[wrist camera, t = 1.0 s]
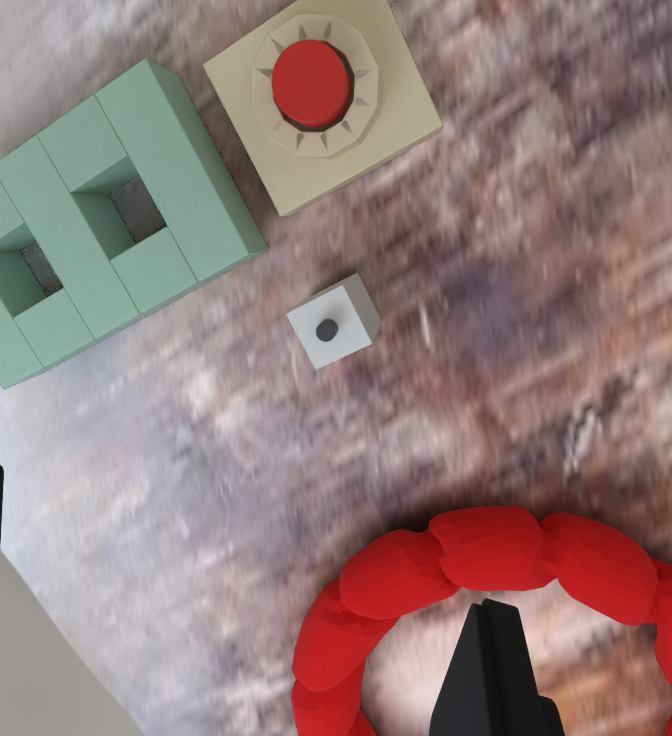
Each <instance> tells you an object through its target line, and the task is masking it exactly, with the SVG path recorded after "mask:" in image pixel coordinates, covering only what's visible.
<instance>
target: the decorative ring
mask: <svg viewBox="0 0 672 736" xmlns="http://www.w3.org/2000/svg"><path fill="white" fill-rule="evenodd" d="M555 578H558V580H559V583H560V585H561V586H562V587H563V588H564V590H565V591H566V592H567V593H568V594H569V595H570V596H571V597H572V598H574V599H576V600H577V601H579V602H581V603H583V604H585V605H587V606H589V607H591V608H593V609H594V610H596V611H598V612H600V613H602V614H604V615H606V616H608V617H610V618H612V619H614V620H616V621H618V622H620V623H623V624H626V625H632V626H638V625H640V624H642V623H657V629H658V634H657V636H656V638H655V649H654V651H655V655H656V660H657V661H658V663H659V665H660V667H661V669H662V671H663V673H664V675H665V677H666V679H667V681H668V682H669V683H670V684H671V686H672V565H671V564H669V563H666V562H664V561H661V560H659V559H656V558H649V556H648V554H647V552H646V551H645V550H644V549H643V548H642V547H641V546H640V545H639V544H638V543H637V542H636V541H634V540H633V539H631V538H630V537H628V536H627V535H626V534H624V533H622V532H621V531H619V530H617V529H616V528H614V527H611V526H609V525H606V524H604V523H601V522H598V521H596V520H593V519H589V518H585V517H581V516H577V515H574V514H570V513H566V512H560V513H553V514H549V515H548V516H546V517H545V518H544V519H542V520H541V521H540V522H539V524H538V522H537V520H536V518H535V517H534V516H533V515H532V514H531V513H530V512H529V511H528V510H527V509H526V508H523V507H519V506H504V505H498V506H484V507H472V508H464V509H458V510H453V511H447V512H444V513H442V514H439V515H437V516H435V517H434V518H433V519H431V520H430V521H429V527H428V529H427V530H425V531H423V532H420V533H417V532H413V531H410V530H406V529H398V530H395V531H391V532H388V533H387V534H385V535H383V536H381V537H379V538H378V539H376V540H374V541H373V542H371V543H370V544H368V545H367V546H366V547H364V548H363V549H361V550H360V551H359V552H357V553H356V554H355V555H354V556H352V557H351V558H350V559H349V560H348V561H347V563H346V564H345V566H344V567H343V569H342V572H341V575H340V578H337V579H335V580H333V581H331V582H330V583H328V584H327V585H326V586H325V587H324V588H323V589H322V590H321V592H320V593H319V594H318V596H317V598H316V599H315V601H314V603H313V604H312V606H311V608H310V610H309V611H308V613H307V615H306V617H305V619H304V621H303V624H302V627H301V630H300V633H299V637H298V640H297V643H296V646H295V650H294V657H293V665H292V671H293V674H294V677H295V679H296V681H295V683H294V686H293V689H292V695H291V700H292V706H293V712H294V718H295V724H296V728H297V731H298V734H299V736H377V735H376V734H375V732H374V730H373V728H372V727H371V725H370V723H369V721H368V720H367V718H366V717H365V716H364V714H363V713H362V712H361V710H360V709H359V707H360V703H361V687H362V677H363V671H364V666H365V660H366V657H367V656H368V655H369V654H370V652H371V651H372V650H373V649H374V647H375V646H376V645H377V644H378V642H379V641H380V640H381V639H382V637H383V636H384V635H385V634H386V633H387V632H388V631H389V630H390V629H391V628H392V627H393V626H394V625H395V623H396V622H397V621H398V620H399V618H400V617H401V616H402V615H405V614H408V613H410V612H413V611H415V610H418V609H420V608H423V607H425V606H428V605H430V604H433V603H436V602H438V601H441V600H443V599H446V598H449V597H451V596H453V595H454V594H455V593H456V592H457V591H459V589H460V588H461V587H464V588H467V589H470V590H476V591H496V590H512V591H526V590H531V589H536V588H541V587H544V586H546V585H547V584H548V583H550V582H551V581H552V580H553V579H555ZM667 735H668V736H672V716H671V717H670V719H669V720H668V725H667Z"/></svg>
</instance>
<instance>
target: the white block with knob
mask: <svg viewBox="0 0 672 736" xmlns="http://www.w3.org/2000/svg"><path fill="white" fill-rule="evenodd" d="M286 315H287V316H288V318H289V320H290V322H291V324H292V326H293V328H294V330H295V331H296V333H297V335H298V337H299V339H300V341H301V343H302V345H303V347H304V348H305V350H306V352H307V354H308V356H309V358H310V360H311V362H312V364H313V365H314V367H315V369H316V370H317V369H319V368H321V367H323V366H325V365H328V364H330V363H332V362H334V361H336V360H338V359H340V358H342V357H345V356H347V355H349V354H351V353H353V352H355V351H357V350H360V349H362V348H364V347H366V346H368V345H370V344H372V343H373V340H374V338H375V336H376V334H377V332H378V329H379V327H380V325H381V323H382V320H381V318H380V316H379V314H378V312H377V310H376V308H375V306H374V304H373V302H372V300H371V298H370V296H369V294H368V292H367V290H366V288H365V286H364V284H363V282H362V280H361V278H360V276H359V274H358V273H355V274H353V275H351V276H349V277H347V278H345V279H343V280H341V281H339V282H337V283H335V284H333V285H331V286H329V287H327V288H325V289H324V290H322V291H320V292H318V293H316V294H314V295H312V296H310V297H308V298H307V299H306V300H304V301H303V302H301V303H300V304H299V305H297V306H296V307H294V308H293V309H291V310H290V311H289V312H287V313H286Z"/></svg>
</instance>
